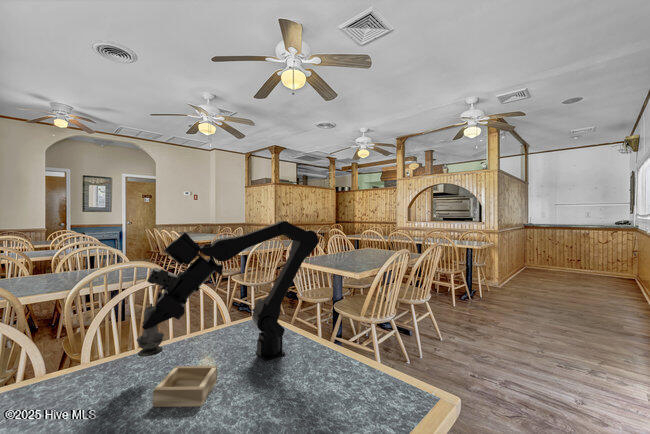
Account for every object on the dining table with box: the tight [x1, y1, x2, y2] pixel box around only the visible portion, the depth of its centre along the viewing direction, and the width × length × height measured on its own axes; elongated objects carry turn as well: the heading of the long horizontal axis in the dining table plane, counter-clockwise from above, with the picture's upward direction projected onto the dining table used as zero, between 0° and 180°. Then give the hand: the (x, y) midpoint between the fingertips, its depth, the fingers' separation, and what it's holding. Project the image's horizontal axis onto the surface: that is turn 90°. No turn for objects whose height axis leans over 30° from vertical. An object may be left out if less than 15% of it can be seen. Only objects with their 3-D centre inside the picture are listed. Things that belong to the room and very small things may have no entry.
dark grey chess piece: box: [136, 302, 165, 358], centre depth 72 cm, size 6×6×12 cm
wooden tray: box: [152, 365, 218, 408], centre depth 66 cm, size 10×10×4 cm
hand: (144, 325), depth 71 cm, fingers closed on dark grey chess piece, 4 cm apart
